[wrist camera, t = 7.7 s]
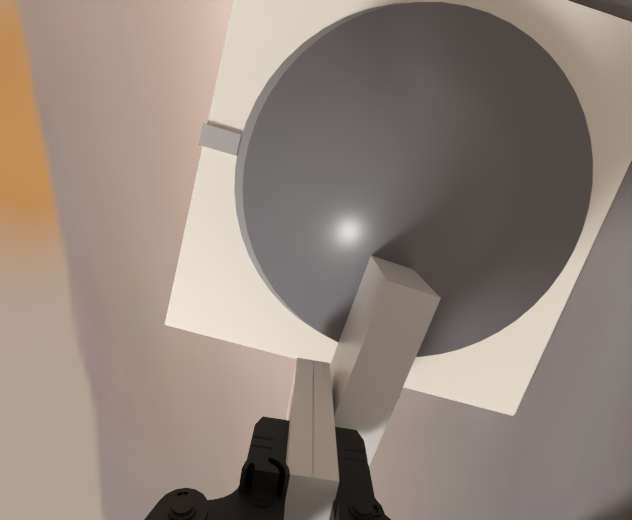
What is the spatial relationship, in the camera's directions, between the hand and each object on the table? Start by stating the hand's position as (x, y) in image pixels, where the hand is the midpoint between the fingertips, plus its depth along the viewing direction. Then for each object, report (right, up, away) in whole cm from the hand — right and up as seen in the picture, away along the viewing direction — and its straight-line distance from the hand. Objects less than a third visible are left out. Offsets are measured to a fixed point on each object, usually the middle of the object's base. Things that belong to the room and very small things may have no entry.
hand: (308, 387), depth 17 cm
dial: (+4, +7, +2) cm, 8 cm away
